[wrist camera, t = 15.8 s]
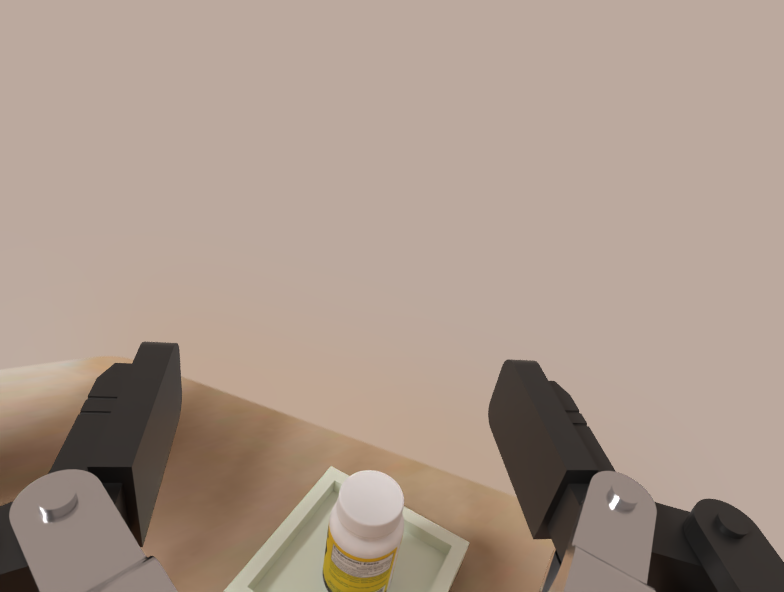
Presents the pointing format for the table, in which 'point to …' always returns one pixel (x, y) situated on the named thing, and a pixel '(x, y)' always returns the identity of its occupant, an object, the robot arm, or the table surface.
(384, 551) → the supplement bottle
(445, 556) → the tray
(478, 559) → the table surface
